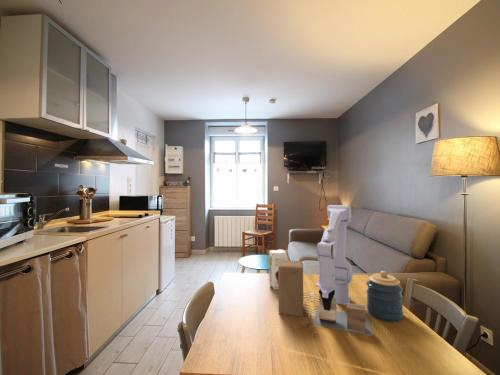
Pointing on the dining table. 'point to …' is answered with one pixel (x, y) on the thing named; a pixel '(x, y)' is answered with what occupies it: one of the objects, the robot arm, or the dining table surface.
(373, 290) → the canister
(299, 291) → the wooden block
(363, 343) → the dining table surface
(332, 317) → the ash block
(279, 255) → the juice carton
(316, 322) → the felt mat
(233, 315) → the dining table surface
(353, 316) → the walnut block
